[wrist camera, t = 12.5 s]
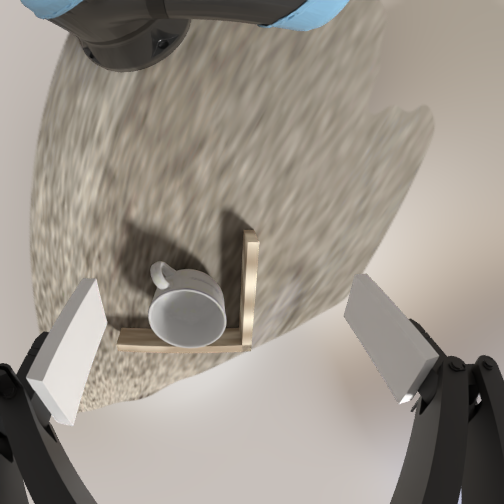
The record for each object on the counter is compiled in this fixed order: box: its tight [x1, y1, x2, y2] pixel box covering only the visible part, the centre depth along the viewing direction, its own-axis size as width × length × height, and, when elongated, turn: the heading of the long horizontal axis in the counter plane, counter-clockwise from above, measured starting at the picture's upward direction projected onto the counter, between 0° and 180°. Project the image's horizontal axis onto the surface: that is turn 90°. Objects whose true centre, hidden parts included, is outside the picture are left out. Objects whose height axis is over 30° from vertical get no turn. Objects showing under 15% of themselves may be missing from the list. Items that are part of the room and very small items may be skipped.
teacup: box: [148, 261, 226, 348], centre depth 39 cm, size 14×11×8 cm
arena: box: [116, 230, 259, 353], centre depth 41 cm, size 20×22×4 cm
